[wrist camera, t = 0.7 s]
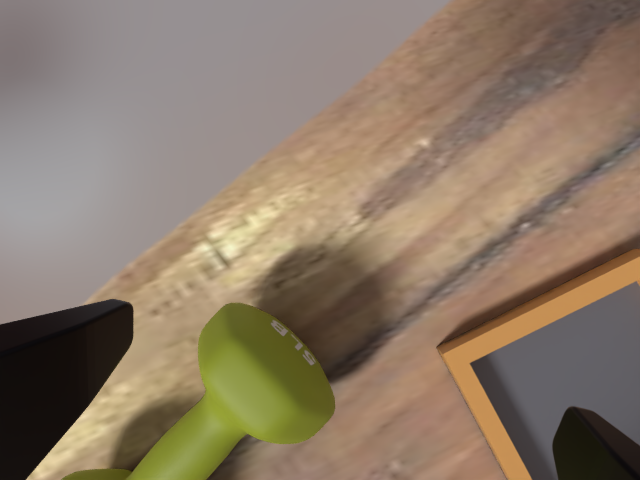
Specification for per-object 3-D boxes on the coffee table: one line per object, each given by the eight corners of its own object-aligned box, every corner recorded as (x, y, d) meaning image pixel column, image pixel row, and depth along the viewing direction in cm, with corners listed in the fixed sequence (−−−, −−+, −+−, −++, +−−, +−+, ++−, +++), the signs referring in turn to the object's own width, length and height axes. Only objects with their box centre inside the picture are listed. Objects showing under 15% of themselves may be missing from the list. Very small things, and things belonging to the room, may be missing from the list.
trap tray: (544, 549, 23) (560, 576, 21) (436, 347, 24) (442, 354, 22) (755, 453, 22) (793, 471, 20) (633, 249, 24) (657, 247, 22)
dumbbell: (257, 285, 26) (216, 292, 19) (353, 381, 25) (348, 428, 18) (73, 477, 26) (-37, 556, 19) (160, 579, 25) (79, 702, 18)
